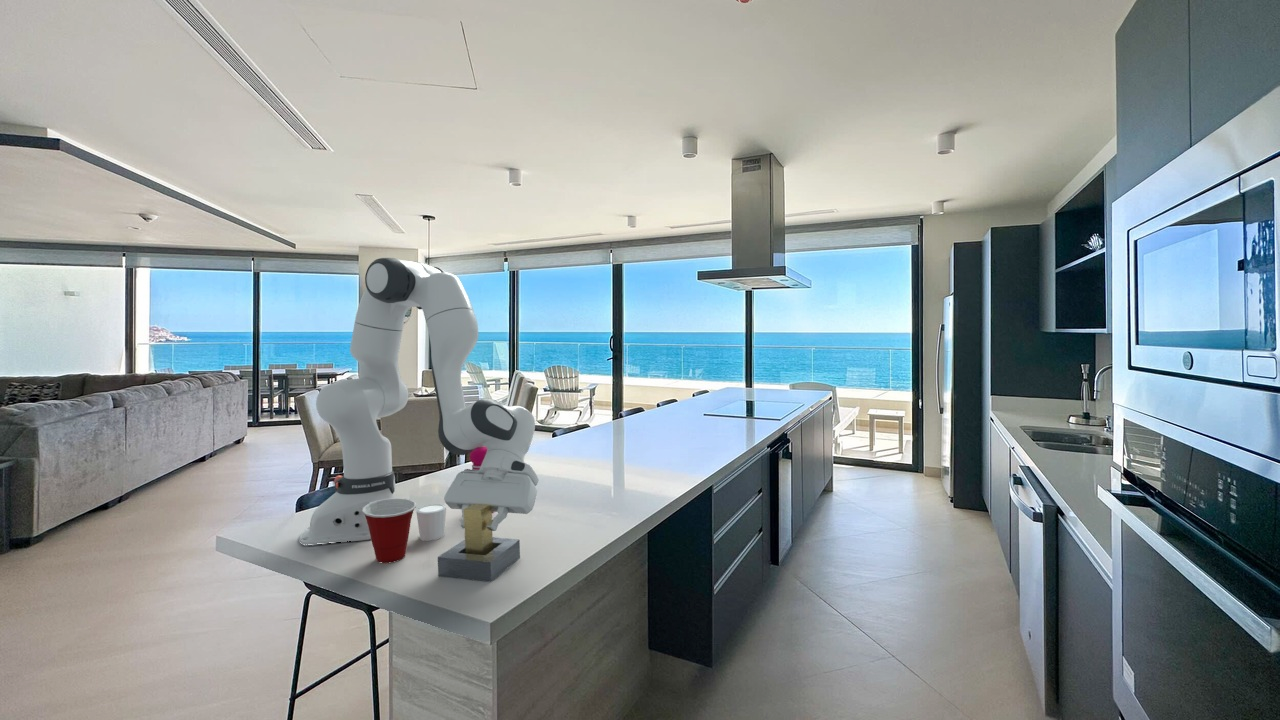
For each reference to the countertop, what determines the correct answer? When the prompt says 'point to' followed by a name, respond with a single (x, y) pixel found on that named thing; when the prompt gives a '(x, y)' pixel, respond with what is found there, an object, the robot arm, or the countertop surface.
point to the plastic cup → (389, 527)
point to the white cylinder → (431, 521)
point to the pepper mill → (478, 457)
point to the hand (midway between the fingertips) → (477, 528)
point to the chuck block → (479, 561)
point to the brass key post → (478, 529)
